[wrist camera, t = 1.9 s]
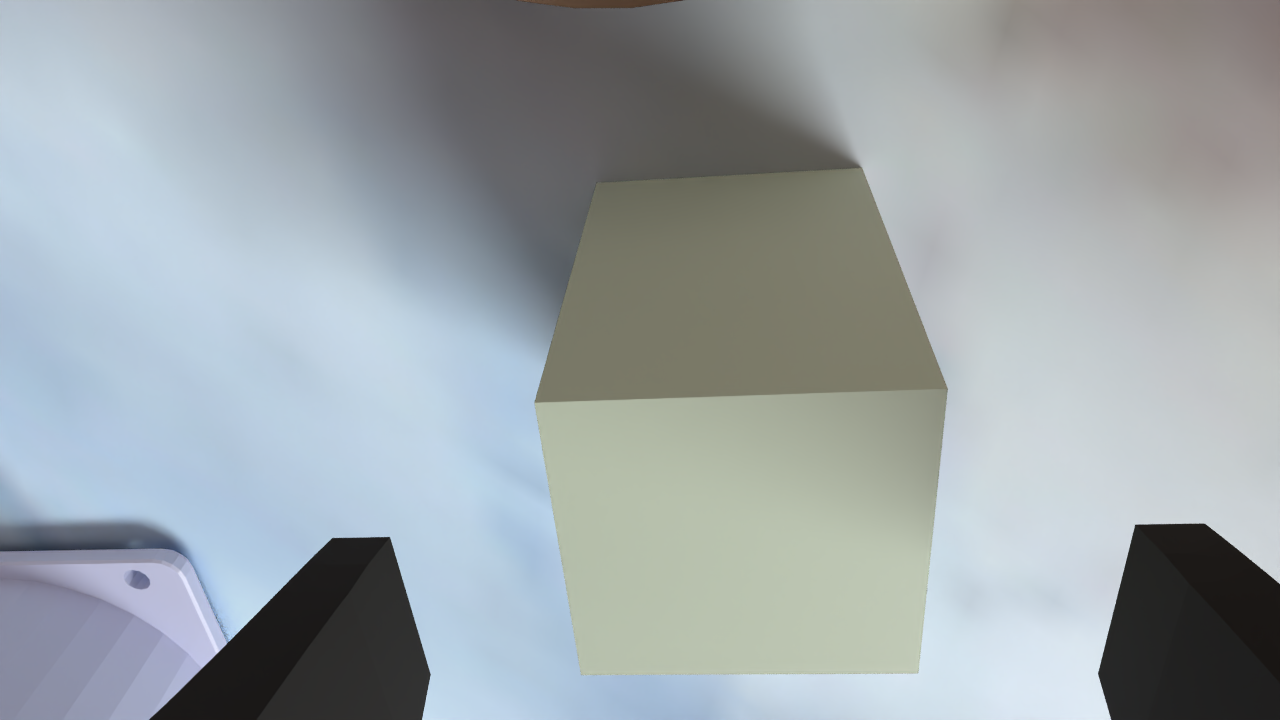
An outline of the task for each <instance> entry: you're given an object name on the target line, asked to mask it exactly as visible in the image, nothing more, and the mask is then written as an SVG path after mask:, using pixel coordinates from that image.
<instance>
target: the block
mask: <svg viewBox="0 0 1280 720" xmlns="http://www.w3.org/2000/svg"><path fill="white" fill-rule="evenodd" d="M947 390H948V388H947V386H946V383H945V381H944V378H943V376H942V373H941V370H940V368H939V365H938V363H937V360H936V357H935V355H934V352H933V350H932V347H931V345H930V342H929V339H928V337H927V334H926V332H925V329H924V326H923V324H922V321H921V319H920V316H919V314H918V311H917V308H916V306H915V303H914V301H913V298H912V295H911V293H910V290H909V288H908V285H907V283H906V280H905V277H904V275H903V272H902V270H901V267H900V264H899V262H898V259H897V257H896V254H895V252H894V249H893V246H892V244H891V241H890V239H889V236H888V233H887V231H886V228H885V226H884V223H883V221H882V218H881V215H880V213H879V210H878V208H877V205H876V202H875V200H874V197H873V195H872V192H871V190H870V187H869V184H868V182H867V179H866V177H865V174H864V171H863V169H862V168H849V169H831V170H813V171H796V172H778V173H760V174H742V175H725V176H707V177H689V178H672V179H654V180H636V181H618V182H601V183H596V186H595V190H594V193H593V197H592V201H591V204H590V208H589V211H588V215H587V218H586V222H585V225H584V229H583V232H582V236H581V240H580V243H579V247H578V250H577V254H576V257H575V261H574V264H573V268H572V271H571V275H570V279H569V282H568V286H567V289H566V293H565V296H564V300H563V303H562V307H561V310H560V314H559V317H558V321H557V325H556V328H555V332H554V335H553V339H552V342H551V346H550V349H549V353H548V356H547V360H546V364H545V367H544V371H543V374H542V378H541V381H540V385H539V388H538V392H537V395H536V399H535V409H536V415H537V421H538V426H539V432H540V438H541V444H542V450H543V456H544V461H545V467H546V473H547V479H548V485H549V491H550V496H551V502H552V508H553V514H554V520H555V526H556V531H557V537H558V543H559V549H560V555H561V561H562V566H563V572H564V578H565V584H566V590H567V596H568V601H569V607H570V613H571V619H572V625H573V631H574V636H575V642H576V648H577V654H578V660H579V666H580V671H581V675H698V674H903V673H918V671H919V661H920V652H921V642H922V632H923V623H924V613H925V603H926V594H927V584H928V574H929V565H930V555H931V545H932V535H933V526H934V516H935V506H936V497H937V487H938V477H939V468H940V458H941V448H942V439H943V429H944V419H945V410H946V400H947Z"/></svg>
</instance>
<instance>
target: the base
mask: <svg viewBox="0 0 1280 720" xmlns="http://www.w3.org/2000/svg"><path fill="white" fill-rule="evenodd" d="M517 1H524V2H532V3H539V4H547V5H554V6H562V7H570V8H634V7H641V6H648V5H655V4H662V3H668V2H675V1H682V0H517Z"/></svg>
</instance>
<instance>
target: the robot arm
mask: <svg viewBox="0 0 1280 720" xmlns="http://www.w3.org/2000/svg"><path fill="white" fill-rule="evenodd" d="M430 675H431V674H430V671H429V668H428V664H427V661H426V658H425V654H424V651H423V647H422V644H421V641H420V637H419V634H418V630H417V627H416V624H415V620H414V617H413V614H412V610H411V607H410V603H409V600H408V597H407V593H406V590H405V587H404V583H403V580H402V576H401V573H400V570H399V566H398V563H397V559H396V556H395V553H394V549H393V546H392V543H391V539H390V537H371V538H332V539H331V540H330V541H329V542H328V543H327V544H326V545H325V546H324V547H323V548H322V549H321V550H320V551H319V552H318V553H317V554H315V555H314V556H313V557H312V558H311V559H310V560H309V561H308V562H307V563H306V564H305V565H304V566H303V567H302V568H301V569H300V571H299V572H298V573H297V574H296V575H295V576H294V577H293V578H292V579H291V580H290V581H289V582H288V583H287V584H286V585H285V586H284V587H283V588H282V589H281V590H280V591H279V592H278V593H277V594H276V595H275V596H274V597H273V598H272V599H271V600H270V601H269V602H268V603H267V604H266V605H265V606H264V607H263V608H262V609H261V610H260V611H259V612H258V613H257V614H256V615H255V616H254V617H253V618H252V619H251V620H250V621H249V622H248V623H247V624H246V625H245V626H244V627H243V628H242V629H241V630H240V631H239V632H238V633H237V634H236V635H235V636H234V637H233V638H232V639H231V640H230V641H229V642H228V643H227V642H226V640H225V638H224V635H223V633H222V631H221V629H220V626H219V624H218V622H217V620H216V617H215V615H214V613H213V611H212V609H211V606H210V604H209V602H208V600H207V597H206V595H205V593H204V591H203V588H202V586H201V584H200V582H199V580H198V577H197V575H196V573H195V571H194V568H193V566H192V565H191V563H190V562H189V561H188V559H187V558H186V557H184V556H183V555H182V554H180V553H178V552H176V551H173V550H169V549H109V550H56V551H3V552H0V720H422V716H423V711H424V706H425V701H426V695H427V690H428V685H429V680H430ZM1098 675H1099V678H1100V682H1101V685H1102V689H1103V692H1104V696H1105V699H1106V703H1107V706H1108V710H1109V713H1110V717H1111V720H1280V584H1279V583H1278V582H1277V581H1275V580H1274V579H1273V578H1272V577H1271V576H1269V575H1268V574H1267V573H1266V572H1264V571H1263V570H1262V569H1261V568H1260V567H1258V566H1257V565H1256V564H1255V563H1253V562H1252V561H1251V560H1250V559H1249V558H1247V557H1246V556H1245V555H1244V554H1242V553H1241V552H1240V551H1239V550H1238V549H1236V548H1235V547H1234V546H1233V545H1231V544H1230V543H1229V542H1228V541H1226V540H1225V539H1224V538H1222V537H1221V536H1220V535H1219V534H1217V533H1216V532H1215V531H1213V530H1212V529H1211V528H1210V527H1208V526H1207V525H1206V524H1150V525H1135V528H1134V532H1133V536H1132V540H1131V544H1130V548H1129V552H1128V556H1127V560H1126V564H1125V568H1124V572H1123V576H1122V580H1121V584H1120V588H1119V592H1118V596H1117V600H1116V604H1115V608H1114V612H1113V616H1112V620H1111V624H1110V628H1109V632H1108V636H1107V640H1106V644H1105V648H1104V652H1103V656H1102V660H1101V664H1100V668H1099V672H1098Z"/></svg>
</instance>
